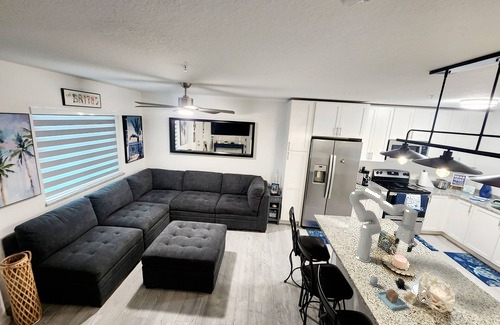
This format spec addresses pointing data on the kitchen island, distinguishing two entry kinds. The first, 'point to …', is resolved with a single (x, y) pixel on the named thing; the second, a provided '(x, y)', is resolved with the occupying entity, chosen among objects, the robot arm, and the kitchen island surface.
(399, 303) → the tray
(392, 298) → the walnut block
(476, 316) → the kitchen island surface
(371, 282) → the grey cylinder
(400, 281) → the black lumpy block
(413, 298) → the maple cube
